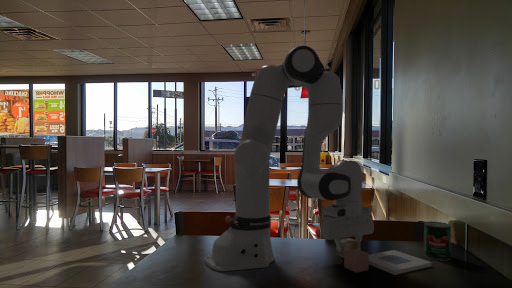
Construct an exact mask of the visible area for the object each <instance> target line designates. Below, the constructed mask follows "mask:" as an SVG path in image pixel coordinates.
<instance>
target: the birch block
mask: <svg viewBox="0 0 512 288" xmlns="http://www.w3.org/2000/svg"><path fill="white" fill-rule="evenodd" d="M361 242H362V241H361ZM361 242H359V241H356V239H353V238H351V237H347V238H342V241H341V245H342V246H344V251H347V250H353V249H358V250H361V249H362V248H361V244H362V243H361ZM344 251H341V252H339V251H338V250H337V249H336V256H338V257H341V258H343V259H344ZM361 251H362V250H361Z"/></svg>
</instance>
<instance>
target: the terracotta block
mask: <svg viewBox="0 0 512 288" xmlns="http://www.w3.org/2000/svg"><path fill="white" fill-rule="evenodd" d="M369 255H370V253H369V252H366V251H365V250H364V251H363V250H358V249H353V250H347V251H344V258H343V261H344V264H343V268H345V269H347V270H350V271H351V272H353V273H361V272H365V271H369V270H370V269H369V268H370V267H369V266H370V265H369Z"/></svg>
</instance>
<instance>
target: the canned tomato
mask: <svg viewBox="0 0 512 288" xmlns="http://www.w3.org/2000/svg"><path fill="white" fill-rule="evenodd" d="M423 224H424V226H423V227H424V229H423V230H424V231H423V232H424V234H423V235H424V238H423V239H424V243H423V244H424V245H423V246H424V256H425V258H427V257H428V258H427V259H430V260H433V259H434V261H439V260H440V261H441V262H443V261H444V262H447V261H451V260H452V237H451V236H452V225H451V224H450V223H446V222H442V221H432V220H431V221H424V222H423Z"/></svg>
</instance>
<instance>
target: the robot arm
mask: <svg viewBox="0 0 512 288" xmlns="http://www.w3.org/2000/svg"><path fill="white" fill-rule="evenodd" d="M303 87H304V88H305V90H306V92H307V97H308V101H307V103H308V104H307V106H308V107H307V108H308V109H307V123H306V127H305V131H304V137H303V144H302V145H303V147H302V159H301V167H300V171H299V173H298V177H297V179H296V181H297V182H296V184H297V189H298V191H299V193H300V194H301V195H302V196H304V197H306V198H309V199H310V198H311V199H318V200H323V201H327V202H330V201H331V202H332V201H334V202H333V203H331V204H329V205H326V206H324V207H323V208H322V214H323V217H322V219H321V225H320V226H321V227H320V228H321V229H320V230H321V236H322V238H324V239H326V240H329V241H334V243H335V245H336V251H337V250H338V251H339V252H341V251H344V246H342V245H341V241H342V239H347V238H352V237H355V240H356V241H359V242H362V240H363V236H365V235H371V234H373V233H374V232H375V231H374V230H375V225H374V217H373V210H372V209H371V208H370V207H369V206H363V197H362V189H363V174H362V173H363V172H362V167H361V166H360V164H359V163H358V162H357V161H353V160H348V159H347V160H346V159H339V160H337V161H336V163H334V165H332V166H331V167H329V168H326V169H324V170H323V169H322V170H321V167H320V163H321V153H322V147H323V143H324V141H325V140H326V139H327V137H328V136H330V135H331V134H332V133H334V132H336V131H337V129H338V128H339V127H340V126H341V125H342V121H343V114H344V113H343V112H344V110H343V109H344V105H343V90H342V85H341V80H340V77H339V76H338V75H337V74H336V73H334V72H332V71H329V70H328V71H327V70H325V66H324V64H323V63H322V61H321V59H320V57H319V55H318V54H317V52H316V51H315V50H314V49H313V48H312V47H310V46H308V45H298V46H296V47H295V46H294V48H291V50H289V52H288V53H287V54H286V56H285V59H284V60H283V62H282V63H281V64H279V65H276V64H266V65H263V66H261V67H260V68H259V70H258V71H257V73H256V76H255V78H254V82H253V84H252V88H251V91H250V94H249V99H248V102H247V106H246V107H247V108H246V110H245V114H244V119H243V120H244V121H243V127H242V132H241V137H240V141H239V144H238V145H237V146H236V148H235V150H234V154H233V156H234V157H233V161H234V162H233V167H234V183H235V215H234V216H233V217H231V216H229V215H227V216H226V217H225V219H224V221H225V223H227V224H230V227H229V228H228V229H226V230H225V231H224V232H223V233H222V234H221V235H220V236H219V237H217V238H216V239H215V240H214V242H213V244H212V248H211V253H210V254H207V255H205V256H204V257H205V258H204V263H205V264H206V266H207V267H209V268H211V269H212V270H214V271H217V272H231V271H240V270H241V271H243V270H249V269H250V270H252V269H261V268H268V267H269V266H270V264H271V263H272V262H273V261H274V260H275V256H274V252H273V247H272V242H271V241H272V239H271V229H272V226H271V225H272V219H271V218H272V217H271V214H270V161H271V160H270V157H271V153H272V149H273V146H274V145H273V144H274V142H275V141H274V140H275V137H276V136H275V135H276V132H277V128H278V124H279V121H280V115H281V111H282V108H283V104H284V99H285V94H286V92H287V89H293V88H294V89H295V88H303Z"/></svg>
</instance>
